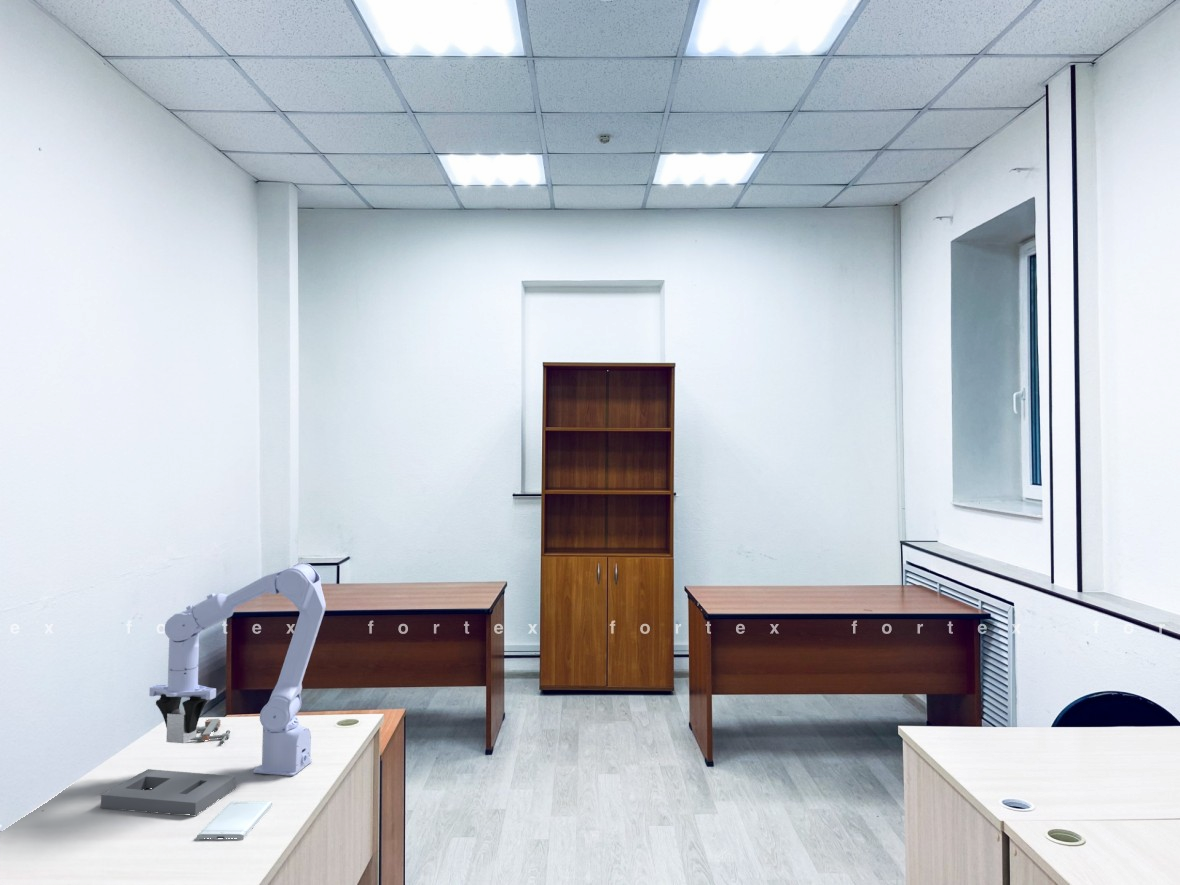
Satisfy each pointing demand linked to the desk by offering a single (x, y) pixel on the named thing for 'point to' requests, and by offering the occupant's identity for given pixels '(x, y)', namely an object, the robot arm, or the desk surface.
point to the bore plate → (169, 792)
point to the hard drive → (235, 820)
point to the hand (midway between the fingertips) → (181, 730)
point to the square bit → (178, 727)
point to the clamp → (210, 727)
